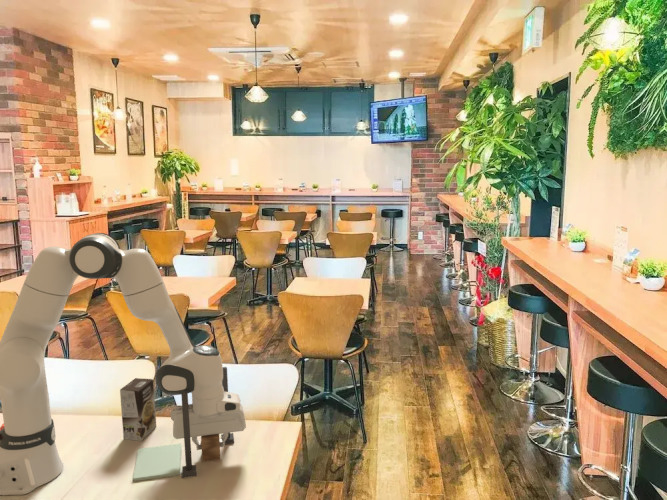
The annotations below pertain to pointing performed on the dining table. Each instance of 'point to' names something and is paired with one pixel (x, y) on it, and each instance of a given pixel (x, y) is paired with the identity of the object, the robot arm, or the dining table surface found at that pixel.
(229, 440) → the post
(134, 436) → the coffee box
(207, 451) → the walnut block
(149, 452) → the board
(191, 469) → the front cord post
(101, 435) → the dining table surface
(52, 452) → the robot arm
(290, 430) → the dining table surface
